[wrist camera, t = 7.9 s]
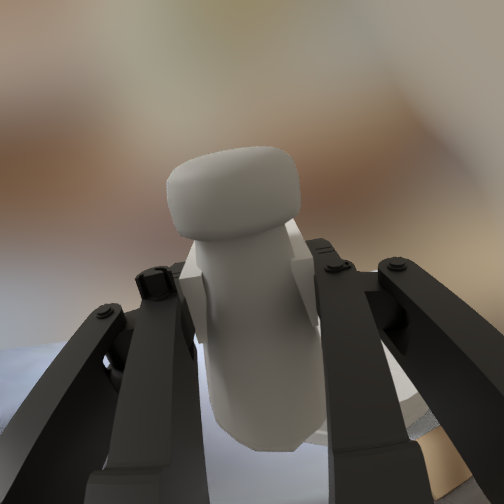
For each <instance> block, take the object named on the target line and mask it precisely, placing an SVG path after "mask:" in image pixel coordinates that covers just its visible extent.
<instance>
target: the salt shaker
mask: <svg viewBox="0 0 504 504" xmlns="http://www.w3.org/2000/svg"><path fill="white" fill-rule="evenodd" d="M166 184H167V185H166V186H167V201H168V206H169V209H170V212H171V215H172V219H173V222H174V225H175V228H176V229H177V231H178V232H179V234H180V235H181V236H183V237H186V238H190V239H193V240H195V252H196V266H197V267H198V268H199V269H200V270H201V271H202V274H203V282H204V288H205V293H206V322H207V338H208V343H203V347H204V356H205V366H206V374H207V383H208V391H209V399H210V403H211V407H212V410H213V413H214V416H215V419H216V422H217V423H218V424H219V426H220V427H221V428H222V429H223V430H224V431H226V432H227V433H228V434H229V435H230V436H232V437H233V438H234V439H235V440H236V441H238V442H239V443H241V444H243V445H245V446H247V447H248V448H250V449H252V450H254V451H264V452H293V451H295V450H296V449H297V448H298V447H299V446H300V445H301V444H302V443H303V442H304V441H305V440H306V439H307V438H309V437H310V436H311V435H312V434H314V433H315V432H316V431H317V430H318V429H319V428H321V426H322V425H323V423H324V421H325V420H326V418H327V414H326V396H325V380H324V367H323V354H322V348H321V337H320V333H319V330H318V327H317V326H314V327H313V326H312V323H311V320H310V318H309V315H308V313H307V310H306V307H305V305H304V302H303V299H302V297H301V294H300V292H299V289H298V286H297V284H296V281H295V279H294V276H293V274H292V271H291V266H290V260H292V259H293V258H295V255H294V252H293V248H292V245H291V242H290V239H289V235H288V232H287V229H286V226H285V223H287V222H288V221H290V220H291V219H293V218H294V217H295V216H297V215H298V214H299V211H300V205H301V196H300V183H299V176H298V172H297V169H296V166H295V163H294V160H293V158H292V157H291V156H290V155H288V154H287V153H286V152H284V151H283V150H282V149H279V148H274V147H269V146H258V147H244V148H237V149H231V150H225V151H220V152H216V153H212V154H208V155H203V156H200V157H197V158H194V159H191V160H189V161H187V162H185V163H183V164H182V165H180V166H178V167H176V168H175V169H174V170H173V172H172V173H171V175H170V176H169V178H168V180H167V181H166Z"/></svg>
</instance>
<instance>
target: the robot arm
mask: <svg viewBox="0 0 504 504" xmlns="http://www.w3.org/2000/svg"><path fill="white" fill-rule="evenodd" d="M285 226H286V229H287V232H288V235H289V239H290V242H291V245H292V248H293V252H294V255H295V258H293V259H292V260H290V266H291V271H292V274H293V276H294V279H295V281H296V284H297V286H298V289H299V292H300V294H301V297H302V299H303V302H304V305H305V307H306V310H307V313H308V315H309V318H310V320H311V323H312V326H313V327H314V326H319V324H318V316H319V319H320V330H321V348H322V354H323V367H324V380H325V396H326V414H327V435H328V468H329V504H434V502H433V496H432V491H431V486H430V481H429V477H428V472H427V468H426V463H425V459H424V455H423V452H422V449H421V446H420V445H419V443H418V442H417V441H413V440H410V439H409V437H408V434H407V431H406V427H405V423H404V419H403V415H402V411H401V407H400V403H399V399H398V396H397V392H396V388H395V385H394V381H393V378H392V374H391V371H390V368H389V364H388V361H387V358H386V354H385V351H384V348H383V345H382V342H383V343H384V345H385V346H386V347H387V349H388V350H389V351H390V353H391V354H392V356H393V357H394V358H395V360H396V361H397V363H398V364H399V365H400V367H401V368H402V370H403V371H404V372H405V374H406V375H407V377H408V378H409V379H410V381H411V382H412V384H413V385H414V387H415V388H416V389H417V391H418V392H419V394H420V395H421V397H422V398H423V400H424V401H425V403H426V404H427V405H428V407H429V408H430V410H431V411H432V413H433V414H434V416H435V417H436V419H437V420H438V422H439V423H440V425H441V426H442V428H443V429H444V431H445V432H446V434H447V435H448V437H449V439H450V440H451V442H452V443H453V445H454V446H455V448H456V449H457V451H458V453H459V454H460V456H461V457H462V459H463V460H464V462H465V464H466V465H467V467H468V468H469V470H470V472H471V473H472V475H473V477H474V478H475V480H476V482H477V483H478V485H479V487H480V488H481V490H482V491H483V493H484V494H485V495H486V497H487V498H488V500H489V501H490V502H491V504H504V336H503V335H502V334H501V333H500V332H499V331H498V330H497V329H496V328H495V327H493V326H492V325H491V324H490V323H489V322H488V321H486V320H485V319H484V318H483V317H482V316H481V315H479V314H478V313H477V312H476V311H475V310H473V309H472V308H471V307H470V306H469V305H468V304H466V303H465V302H464V301H463V300H461V299H460V298H459V297H458V296H457V295H455V294H454V293H453V292H452V291H450V290H449V289H448V288H447V287H445V286H444V285H443V284H441V283H440V282H439V281H438V280H436V279H435V278H434V277H433V276H431V275H430V274H429V273H427V272H426V271H425V270H423V269H422V268H421V267H419V266H418V265H417V264H415V263H414V262H413V261H411V260H409V259H405V258H402V257H392V258H387V259H384V260H382V261H381V262H380V263H379V264H378V272H360V271H357V270H356V268H355V265H354V264H353V263H352V262H350V261H348V260H343V259H341V258H340V257H339V255H338V253H337V252H336V251H335V249H334V248H333V247H332V245H331V243H330V242H329V241H327V240H325V239H322V238H319V239H314V240H307V241H304V239H303V237H302V235H301V233H300V231H299V229H298V227H297V225H296V223H295V221H294V220H293V219H291V220H290V221H288V222H287V223H285ZM135 281H136V284H137V286H138V289H139V292H140V295H141V298H142V302H141V305H140V308H138V309H136V310H132V311H130V312H126V313H124V312H123V310H122V307H121V305H119V304H117V303H116V304H115V303H111V304H104V305H101V306H99V308H97V309H95V310H94V311H93V312H92V313H91V314H90V315H89V316H88V317H87V319H86V320H85V321H84V322H83V324H82V325H81V326H80V327H79V329H78V330H77V331H76V332H75V334H74V335H73V336H72V337H71V338H70V340H69V341H68V342H67V344H66V345H65V346H64V347H63V349H62V350H61V351H60V353H59V354H58V355H57V356H56V358H55V359H54V360H53V362H52V363H51V364H50V366H49V367H48V368H47V370H46V371H45V372H44V374H43V375H42V376H41V378H40V379H39V380H38V382H37V383H36V385H35V386H34V387H33V389H32V390H31V392H30V393H29V394H28V396H27V397H26V399H25V400H24V401H23V403H22V404H21V406H20V407H19V409H18V410H17V412H16V413H15V415H14V416H13V418H12V419H11V421H10V422H9V424H8V425H7V427H6V428H5V430H4V431H3V433H2V434H1V436H0V504H210V501H209V493H208V484H207V476H206V466H205V456H204V446H203V435H202V423H201V410H200V396H199V380H198V362H197V349H196V346H195V344H194V341H193V340H194V335H195V334H196V337H197V340H198V343H199V344H200V343H208V338H207V322H206V293H205V288H204V282H203V274H202V271H201V270H200V269H199V268H198V267H197V266H196V252H195V241H194V243H193V245H192V248H191V251H190V253H189V255H188V258H187V260H186V261H185V262H180V263H175V264H173V265H172V266H171V267H170V268H169V267H167V266H158V267H154V268H150V269H147V270H145V271H143V272H141V273H140V274H139V275H137V276H136V278H135ZM381 340H382V342H381ZM105 355H106V357H107V359H108V361H109V362H110V364H109V366H108V367H107V368H106V367H105V365H104V364H103V359H104V356H105ZM108 453H109V455H108ZM107 455H108V461H107V465H106V468H105V469H104V470H102V467H103V465H104V462H105V460H106V458H107Z"/></svg>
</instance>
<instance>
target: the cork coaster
mask: <svg viewBox="0 0 504 504" xmlns="http://www.w3.org/2000/svg"><path fill="white" fill-rule="evenodd" d="M414 441H417V442H418V443H419V445H420V446H421V449H422V452H423V455H424V459H425V463H426V468H427V472H428V477H429V481H430V486H431V491H432V496H433V498H434V500H435V501H437V500H438V499H440V498H441V497H443V496H445V495H446V494H448V493H449V492H451V491H452V490H453V489H455V488H456V487H458V486H459V485H461V484H462V483H463V482H465V481H466V480H467V479H469V478H470V477H471V476H473V475H472V473H471V472H470V470H469V468H468V467H467V465H466V464H465V462H464V460H463V459H462V457H461V456H460V454H459V453H458V451H457V449H456V448H455V446H454V445H453V443H452V442H451V440H450V439H449V437H448V435H447V434H446V432H445V431H444V429H443V428H442V426H441V425H440V426H438V427H436V428H435V429H433V430H431V431H430V432H428V433H426V434H425V435H423V436H421V437H419V438H418V439H416V440H414Z"/></svg>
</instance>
